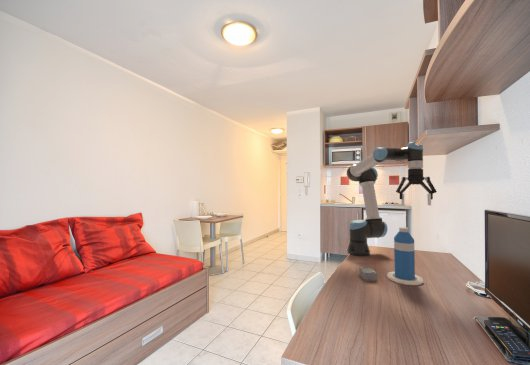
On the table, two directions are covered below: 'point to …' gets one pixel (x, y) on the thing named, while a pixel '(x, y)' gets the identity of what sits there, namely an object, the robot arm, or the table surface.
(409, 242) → the water bottle
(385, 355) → the table surface
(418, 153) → the robot arm
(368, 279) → the box
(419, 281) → the cream plate
